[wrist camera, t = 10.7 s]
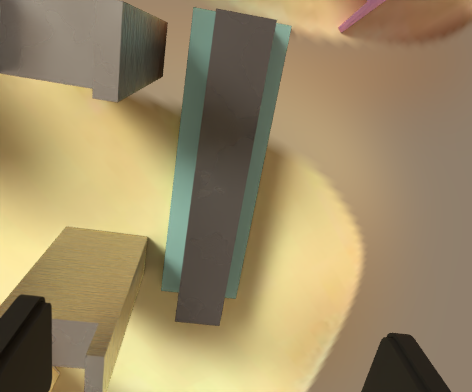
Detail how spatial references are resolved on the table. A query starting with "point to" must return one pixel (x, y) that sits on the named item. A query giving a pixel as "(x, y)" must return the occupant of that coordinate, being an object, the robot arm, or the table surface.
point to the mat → (190, 139)
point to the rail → (223, 160)
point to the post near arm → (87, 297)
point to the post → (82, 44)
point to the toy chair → (360, 13)
